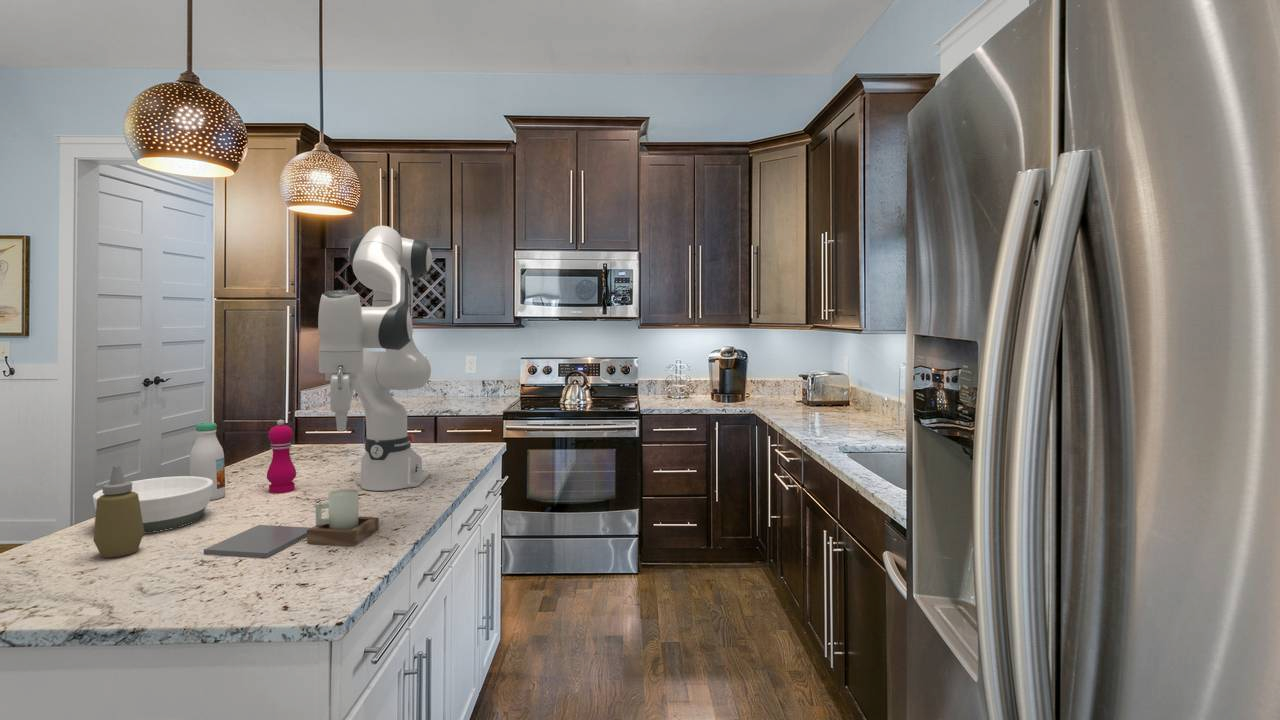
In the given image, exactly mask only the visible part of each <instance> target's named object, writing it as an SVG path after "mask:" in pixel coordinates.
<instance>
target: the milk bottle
mask: <svg viewBox="0 0 1280 720" xmlns="http://www.w3.org/2000/svg"><path fill="white" fill-rule="evenodd" d="M217 426H218V425H217V423H215V422H203V423H197V424H196V425H195V433H196V439H195V442H194V444H193V446H192V448H191V451H190V453H189V476H195V477H204V478H209V479H211V480H212V481H213V488H212V495H211V498H210V500H209V501H215V500H218V499H219V500H220V499H222V498H224V497H225V495H226V471H225V470H226V469H225V467H226V466H225V453H224V449H223V446H222V445H221V444H220V443H221V442H220V441H219V440H218V438H217V433H216V432H217V430H218V429H217Z"/></svg>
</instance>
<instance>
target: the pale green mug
mask: <svg viewBox="0 0 1280 720" xmlns="http://www.w3.org/2000/svg"><path fill="white" fill-rule="evenodd" d="M327 497H328V500H327V502H319V503H315V526H316V525H322V524H329V529H341V530H351V529H353V528H355V527H356V526H358V525H359V517H360V516H359V515H360V514H359V509H360V508H359V491H358V489H352V488H345V489H337V490H333V491H330V492H329V493H327ZM323 509H328V517H326V518H322V510H323Z"/></svg>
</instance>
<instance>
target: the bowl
mask: <svg viewBox="0 0 1280 720" xmlns="http://www.w3.org/2000/svg"><path fill="white" fill-rule="evenodd" d="M131 482H132V491H133V492H135V493H137V494H138V497H139V503H140V509H141V515H142V521H143V527H144V532H152V533H154V532H153V531H159V532H161V531H160V530H164V531H166V530H165V529H169V530H171V529H170V528H174V529H176V528H175V527H178V528H180V527H179V526H181V527H183V526H182V525H185V524H188V523H190V524H192V523H191V522H193V521H195V520H196V521H198V520H199V519H200V518H201V517H202V515H203V513H204V512H205V510H206V508H207V507H208V505H209V502H210V501H211V500H210V498H211V495H212V488H213V481H212V480H211V479H209V478H204V477H195V476H190V475H183V476H182V475H179V476H163V477H153V478H146V479H139V480H134V481H131ZM102 495H105V494H103V488H102V489H100V490H98V491H96V492H95V493H94V494H93V495H92V499H93V504H94V509H95V511H96V506H97V499H98V498H99V497H100V496H102ZM200 516H201V517H200ZM197 519H198V520H197ZM196 521H195V522H196ZM193 523H194V522H193ZM188 525H189V524H188ZM185 526H186V525H185Z"/></svg>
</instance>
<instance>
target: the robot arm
mask: <svg viewBox="0 0 1280 720" xmlns="http://www.w3.org/2000/svg"><path fill="white" fill-rule="evenodd" d="M347 253H348V259H349V263H350V266H351V267H352V271H353V274H354V275H355V277H356V279H357V280H358V281H359V282H360V284H362V285H363V286H364V287H366V288H368V289H369V290H373V297H372V305H371V306H362V303H361V299H360V294H359V292H357V291H354V290H349V289H336V290H328V291H325V292H324V293H322V294H321V297H320V299H319V300H320V301H319V305H318V307H319V308H318V314H317V315H318V318H317V320H318V321H317V325H318V326H317V327H318V328H317V329H318V330H317V331H318V335H319V339H320V341H319V342H320V343H319V346H318V373H320V374H325V376H324V377H325V381H330V382H329V383H330V386H329V387H330V390H329V391H330V393H329V395H330V399H329V400H330V405H329V406H330V411H331V412H332V413H335V422H336V431H337V432H346V430H347V424H348V413H349V411H350V410H351V406H352V399H353V394H354V392H355V393H356V394H357V396H358V398H359V399H360V402H361V404H362V406H363V410H364V414H365V428H366V437H365V438H364V450H365V453H364V454H363V455H362V456H361V463H360V476H359V477H360V478H359V479H357V480H356V485H358V486H360V488H361V489H363V490H366V491H367V490H368V491H376V492H379V491H382V492H383V491H394V490H401V489H406V488H407V489H408V488H417V487H419V486H421V484H422V483H424V481H426V480H427V478H429V477H430V476H431V471H428V470H425V469H423V459H422V457H421V456H420V455H419V454H418V453H416V451H414V450H413V449H412V444H411V442H414V441H415V435H414V434H408V412H407V410H406V408H405V406H403V404H401V403H399V402H397V401H396V400H395V399H394V398H393V396H392V394H391V391H390V390H394V391H395V390H397V391H409V390H416V389H421V388H423V387H425V386H426V385H427V383H429V380H430V378H431V376H432V375H431V373H432V368H431V364H430V361H429V360H428V358H427V357H426V356H425V355H424V354H423V353H422V352H421V351H420V350H419V349H418V347H417V346H416V343H415V341H414V338H413V333H414V326H413V321H412V319H413V307H414V306H413V305H414V287H413V286H414V285H413V282H414V283H417V282H419V279H421V278H424V277H425V276H426V275H427V274H428V273H429V271H430V269H431V266H432V261H433V255H432V251H431V247H430V246H429V244H428V243H427V242H426V241H423V240H420V239H418V238H417V239H416V238H415V239H411V238H406V237H402V236H401V235H400V233H399V232H398V231H397V230H396V229H395V228H392V227H390V226H388V225H377V226H373V227H372V228H370V229H369V230H368V231H367V232H366V234H365V235H358V236H356V237H354V238H353V239H352V240H351V242H350V245H349V248H348V252H347ZM364 349H383V350H385V351H381V350H380V351H376V350H375V351H374V350H371V351H370V350H366V351H365V350H364Z"/></svg>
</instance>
